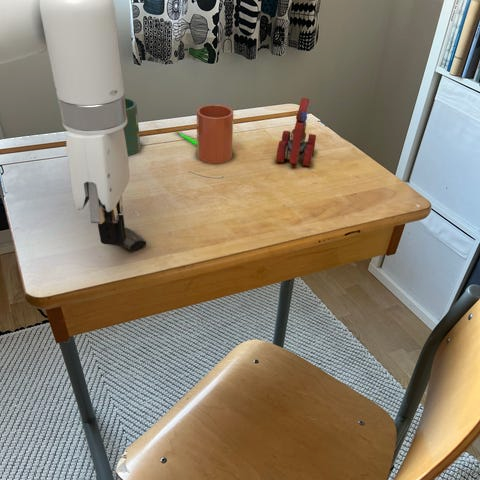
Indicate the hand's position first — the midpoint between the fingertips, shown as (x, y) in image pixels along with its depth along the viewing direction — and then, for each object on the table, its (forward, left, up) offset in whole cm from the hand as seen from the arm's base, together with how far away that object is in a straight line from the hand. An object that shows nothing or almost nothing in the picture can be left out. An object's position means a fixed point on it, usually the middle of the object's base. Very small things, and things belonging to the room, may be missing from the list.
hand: (113, 241), depth 72 cm
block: (0, +7, -5) cm, 9 cm away
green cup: (-10, +40, -5) cm, 41 cm away
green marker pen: (+5, +45, -5) cm, 45 cm away
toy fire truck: (+26, +42, -5) cm, 50 cm away
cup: (+9, +40, -5) cm, 41 cm away
